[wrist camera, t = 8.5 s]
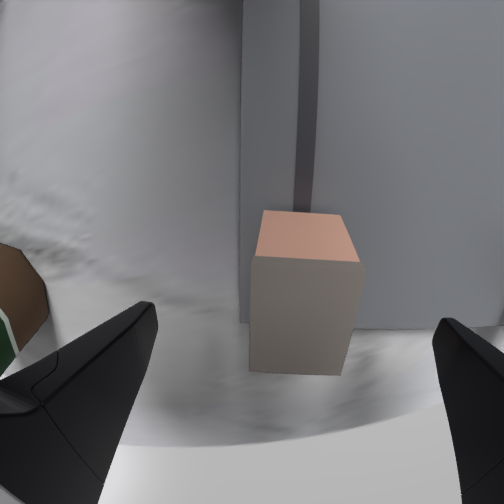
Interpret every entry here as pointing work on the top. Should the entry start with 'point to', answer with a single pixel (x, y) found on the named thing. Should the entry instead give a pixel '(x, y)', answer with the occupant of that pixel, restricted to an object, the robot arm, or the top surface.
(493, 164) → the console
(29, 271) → the beer bottle
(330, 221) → the block
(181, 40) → the top surface
